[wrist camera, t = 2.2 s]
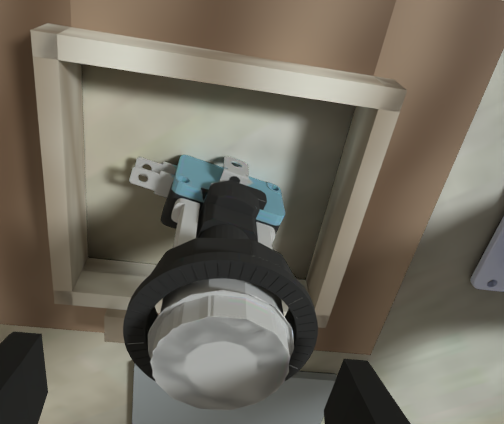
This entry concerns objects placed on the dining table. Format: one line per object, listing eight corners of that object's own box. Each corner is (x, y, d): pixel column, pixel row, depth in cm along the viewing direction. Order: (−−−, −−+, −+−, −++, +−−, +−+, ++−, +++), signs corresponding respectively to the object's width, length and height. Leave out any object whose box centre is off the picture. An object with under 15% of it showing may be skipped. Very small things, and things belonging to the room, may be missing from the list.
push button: (123, 207, 20) (43, 397, 11) (155, 100, 18) (82, 241, 9) (257, 247, 22) (274, 444, 13) (303, 154, 19) (362, 321, 11)
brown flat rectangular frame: (507, 1, 16) (559, 11, 14) (365, 341, 25) (381, 385, 23) (-70, -109, 14) (-139, -122, 11) (1, 309, 23) (-28, 354, 20)
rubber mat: (335, 374, 27) (337, 381, 26) (300, 465, 32) (301, 472, 31) (135, 358, 25) (134, 365, 25) (131, 457, 30) (130, 464, 30)
